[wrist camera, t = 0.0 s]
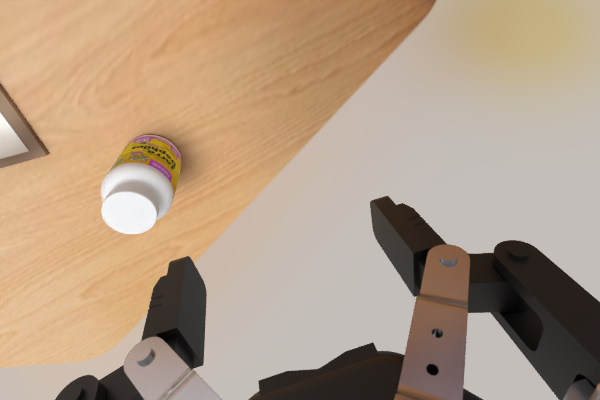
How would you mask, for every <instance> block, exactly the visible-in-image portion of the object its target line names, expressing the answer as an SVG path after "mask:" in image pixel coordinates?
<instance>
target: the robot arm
mask: <svg viewBox="0 0 600 400" xmlns="http://www.w3.org/2000/svg"><path fill="white" fill-rule="evenodd" d="M370 208H371V216H372V225H373V231H374V235H375V237H376V239H377V241H378V243H379V244H380V246H381V247H382V249H383V250H384V252H385V253H386V255H387V257H388V258H389V260H390V261H391V263H392V264H393V266H394V267H395V268H396V270H397V272H398V273H399V274H400V276H401V278H402V279H403V281H404V282H405V284H406V285H407V287H408V288H409V290H410V291H411V293H412V294H413V296H414V297H415V296H417V298H416V302H415V308H414V312H413V317H412V322H411V328H410V332H409V337H408V342H407V347H406V352H405V355H402V354H399V353H395V352H389V351H377V350H376V348H375V346H374V343H370V344H367V345H364V346H361V347H358V348H355V349H352V350H349V351H346V352H344V353H343V354H341V355H340V356H338V357H337V358H335V359H334V360H332V361H330V362H329V363H328V364H326V365H324V366H323V367H321V368H319V369H313V370H299V371H286V372H284V373H280V374H277V375H274V376H272V377H269V378H266V379H263V380H260V381H259V389H260V391H259V392H257V393H256V394H255V395H253V396H252V397H251V398H250V399H249V400H483V399H481V398H479V397H477V396H476V395H474V394H472V393H471V392H469V391H467V390H466V389H464V388H463V385H464V367H465V349H466V334H467V316H468V313H476V312H477V313H482V312H491V314H492V315H493V316H494V317H495V319H496V320H497V321H498V322H499V324H500V325H501V326H502V327H503V329H504V330H505V331H506V333H507V334H508V335H509V336H510V338H511V339H512V340H513V341H514V343H515V344H516V345H517V347H518V348H519V349H520V350H521V352H522V353H523V354H524V355H525V357H526V358H527V359H528V360H529V362H530V363H531V364H532V365H533V367H534V368H535V369H536V371H537V372H538V373H539V374H540V376H541V377H542V378H543V380H544V381H545V382H546V383H547V385H548V386H549V387H550V389H551V390H552V391H553V392H554V394H555V395H556V396H557V397H558V399H559V400H600V302H599V301H598V300H597V299H595V298H594V297H593V296H592V295H590V293H588V292H587V291H586V290H584V288H582V287H581V286H580V285H579V284H578V283H577V282H575V281H574V280H573V279H572V278H571V277H570V276H568V275H567V274H566V273H565V272H564V271H563V270H561V269H560V268H559V267H558V266H557V265H555V264H554V263H553V262H552V261H551V260H550V259H549V258H547V257H546V256H545V255H544V254H543V253H541V252H540V251H539V250H538V249H537V248H535V247H534V246H532V245H530V244H528V243H525V242H521V241H515V240H510V241H503V242H501V243H499V244H498V245H497V246H496V247H495V249H494V253H482V254H468V253H466V251H464V250H463V249H461V248H460V247H457V246H454V245H448V244H446V243H445V242H444V241H443V239H442V238H441V237H440V236H439V235H438V234H437V233H436V232H435V231H434V230H433V229H432V228H431V227H430V226H429V225H428V224H427V223H426V222H425V220H424V219H423V218H422V217H420V215H419V214H418V213H417V212H416V211H415V210H414V209H413V208H411V207H409V206H407V205H405V204H403V203H402V204H399V205H396V204H395V203H394V202H393V201H392V200H391V199H390V198H389V197H388V196H385V197H382V198H379V199H375V200H372V201H371V202H370ZM205 317H206V288H205V284H204V281H203V279H202V278H201V276H200V274H199V272H198V270H197V268H196V267H195V265H194V263H193V261H192V259H191V258H190V257H189V256H187V257H184V258H180V259H177V260H174V261H171V262H170V263H169V267H168V273H167V275H166V276H163V277H160V279H159V280H158V282H157V284H156V285H155V287H154V288H153V293H152V297H151V301H150V305H149V310H148V314H147V319H146V323H145V327H144V331H143V336H142V340H141V342H140V343H138V344H137V345H135V346H134V348H132V350H131V351H130V352H129V353H128V355H127V357H126V359H125V361H124V365H123V366H122V367H120V368H119V369H117V370H115V371H114V372H112V373H110V374H109V375H107V376H105V377H104V378H102V379H101V380H98V379H97V378H95V377H94V376H92V375H86V376H82V377H80V378H77V379H76V380H74V381H73V382H71V383H70V384H69V385H67V386H66V387H65V388H64V389H63V390H62V391H61V392H60V394H59V395H58V396H57V398H56V399H55V400H222V399H221V398H220V397H219V395H218V394H217V393H216V392H215V391H214V390H213V389H212V388H211V387H210V386H209V385H208V384H207V383H206V382H205V381H204V380H203V379H202V378H201V377H200V376H199V375H198V374H197V373H196V372H195V371H194V370H193V368H196V367H199V366H202V365H203V362H204V361H203V359H204V339H205Z"/></svg>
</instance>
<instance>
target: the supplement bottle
mask: <svg viewBox="0 0 600 400" xmlns="http://www.w3.org/2000/svg"><path fill="white" fill-rule="evenodd" d="M181 165H182V161H181V156H180V153H179V151H178V149H177V148H176V147H175V146H174V144H172V143H171V142H170V141H168V140H167V139H165V138H163V137H160V136H156V135H143V136H139V137H137V138H135V139H133V140H132V141H131V142H130V143H129V144H128V145H127V146H126V147H125V149H124V150H123V152H122V153H121V155H120V156H119V158H118V159H117V160H116V162H115V163H114V165H113V166H112V168H111V169H110V171H109V172H108V174H107V175H106V177H105V178H104V180H103V183H102V186H101V196H102V200H103V204H102V208H101V213H102V216H103V219H104V221H105V222H106V223H107V224H108V225H109V226H110V227H111V228H113V229H114V230H116V231H118V232H121V233H125V234H139V233H143V232H145V231H147V230H149V229H150V228H151V227H152V226H153V225H154V224H155V222H156V220H158V219H159V218H161V217H163V216H164V215H165V214H166V213H167V212H168V210H169V209H170V207H171V205H172V202H173V198H174V194H175V190H176V186H177V183H178V179H179V175H180V171H181Z"/></svg>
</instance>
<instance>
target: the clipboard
mask: <svg viewBox="0 0 600 400" xmlns="http://www.w3.org/2000/svg"><path fill="white" fill-rule="evenodd" d="M48 154H49V152H48V151H47V150H46V148H45V147H44V145H43V144H42V142H41V141H40V140H39V138H38V137H37V135H36V134H35V133H34V131H33V130H32V128H31V127H30V126H29V124H28V123H27V121H26V120H25V118H24V117H23V116H22V114H21V113H20V111H19V110H18V109H17V107H16V106H15V104H14V103H13V102H12V100H11V99H10V97H9V96H8V94H7V93H6V92H5V90H4V89H3V87H2V86H1V85H0V168H3V167H6V166H10V165H14V164H17V163H21V162H24V161H28V160H32V159H35V158H39V157H42V156H46V155H48Z"/></svg>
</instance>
